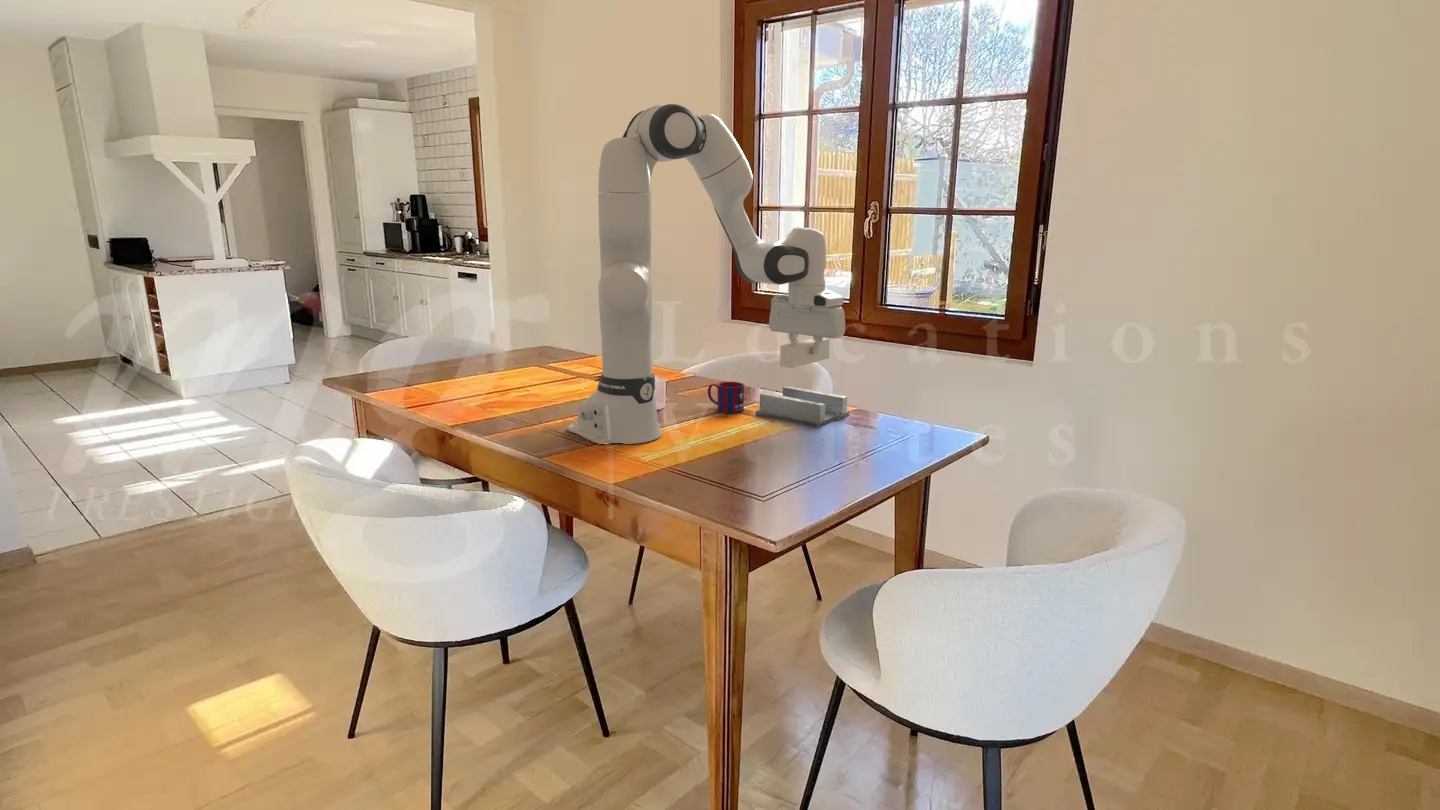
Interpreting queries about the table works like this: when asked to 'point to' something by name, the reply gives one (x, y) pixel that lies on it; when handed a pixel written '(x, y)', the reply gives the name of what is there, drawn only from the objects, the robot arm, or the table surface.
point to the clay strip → (802, 353)
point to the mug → (729, 397)
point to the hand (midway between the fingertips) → (805, 352)
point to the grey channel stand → (803, 406)
